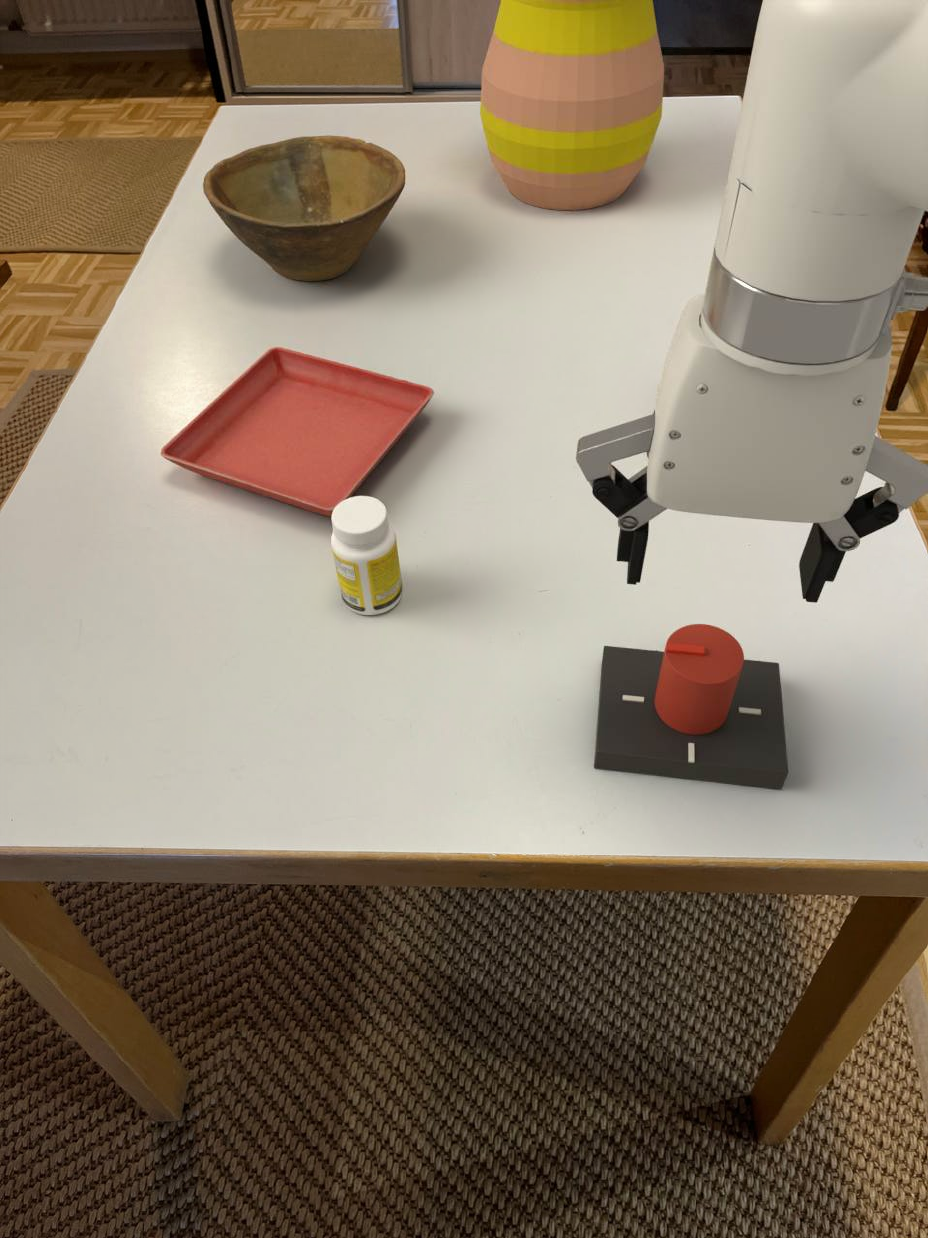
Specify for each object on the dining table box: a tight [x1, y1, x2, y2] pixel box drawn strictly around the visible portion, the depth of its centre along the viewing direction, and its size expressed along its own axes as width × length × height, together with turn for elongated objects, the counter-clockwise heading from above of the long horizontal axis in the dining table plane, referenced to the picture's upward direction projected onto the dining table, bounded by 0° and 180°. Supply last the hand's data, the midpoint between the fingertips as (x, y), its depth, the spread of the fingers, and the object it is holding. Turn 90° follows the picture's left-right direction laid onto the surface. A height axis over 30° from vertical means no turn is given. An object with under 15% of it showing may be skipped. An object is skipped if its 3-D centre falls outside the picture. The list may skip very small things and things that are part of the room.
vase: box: [479, 0, 665, 211], centre depth 107 cm, size 22×22×30 cm
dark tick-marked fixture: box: [593, 645, 789, 791], centre depth 62 cm, size 12×9×2 cm
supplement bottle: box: [330, 495, 403, 616], centre depth 69 cm, size 5×5×8 cm
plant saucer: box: [160, 346, 435, 517], centre depth 83 cm, size 18×18×3 cm
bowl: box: [202, 135, 406, 282], centre depth 103 cm, size 22×23×10 cm
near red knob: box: [655, 623, 745, 735], centre depth 59 cm, size 5×5×6 cm
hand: (719, 575), depth 52 cm, fingers open, 9 cm apart
